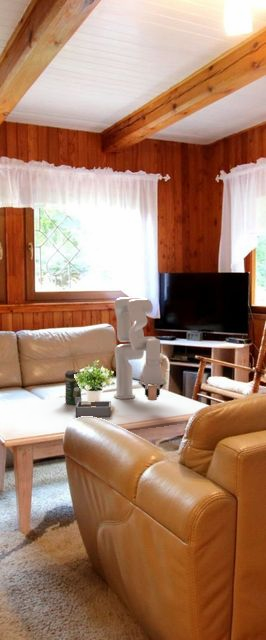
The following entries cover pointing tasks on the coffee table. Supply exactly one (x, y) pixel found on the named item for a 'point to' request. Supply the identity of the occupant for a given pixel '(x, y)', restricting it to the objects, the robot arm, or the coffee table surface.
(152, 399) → the terracotta cylinder
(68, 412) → the coffee table surface
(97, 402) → the tote
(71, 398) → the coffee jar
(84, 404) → the walnut cube
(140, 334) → the robot arm
